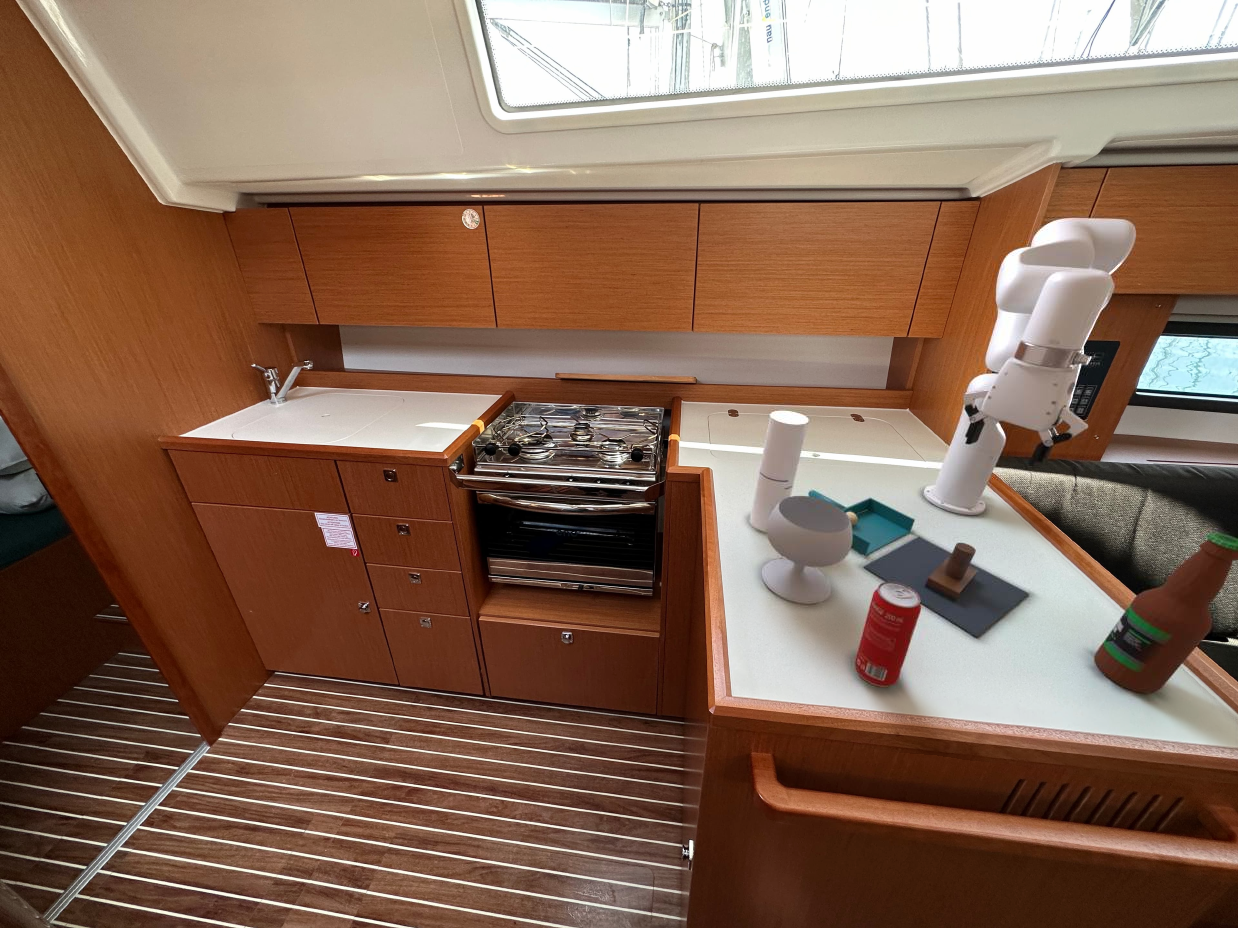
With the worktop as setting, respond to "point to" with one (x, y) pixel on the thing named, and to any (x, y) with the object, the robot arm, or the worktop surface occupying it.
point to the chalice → (805, 547)
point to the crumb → (852, 518)
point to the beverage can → (887, 633)
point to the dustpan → (873, 523)
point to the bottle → (1167, 620)
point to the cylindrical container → (778, 464)
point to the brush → (954, 573)
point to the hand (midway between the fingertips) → (1000, 453)
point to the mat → (968, 612)
